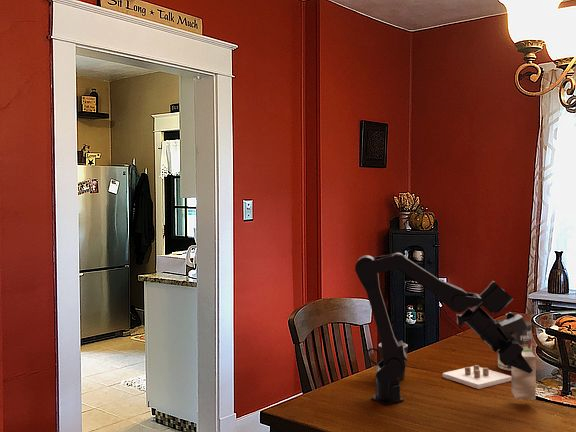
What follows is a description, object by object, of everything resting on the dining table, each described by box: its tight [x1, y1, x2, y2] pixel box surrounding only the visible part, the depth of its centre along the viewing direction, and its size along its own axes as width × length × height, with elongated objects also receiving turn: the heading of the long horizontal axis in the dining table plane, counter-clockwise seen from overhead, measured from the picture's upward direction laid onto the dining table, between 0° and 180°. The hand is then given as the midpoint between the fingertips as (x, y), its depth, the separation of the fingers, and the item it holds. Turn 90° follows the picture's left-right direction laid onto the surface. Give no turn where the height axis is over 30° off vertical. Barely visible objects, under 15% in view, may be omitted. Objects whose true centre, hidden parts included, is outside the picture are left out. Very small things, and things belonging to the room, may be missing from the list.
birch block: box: [511, 352, 537, 400], centre depth 165 cm, size 5×5×11 cm
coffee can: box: [497, 319, 533, 372], centre depth 199 cm, size 10×10×14 cm
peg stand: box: [442, 364, 512, 390], centre depth 188 cm, size 14×14×3 cm
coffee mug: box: [366, 342, 409, 382], centre depth 192 cm, size 12×9×10 cm
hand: (528, 369), depth 165 cm, fingers closed on birch block, 5 cm apart
